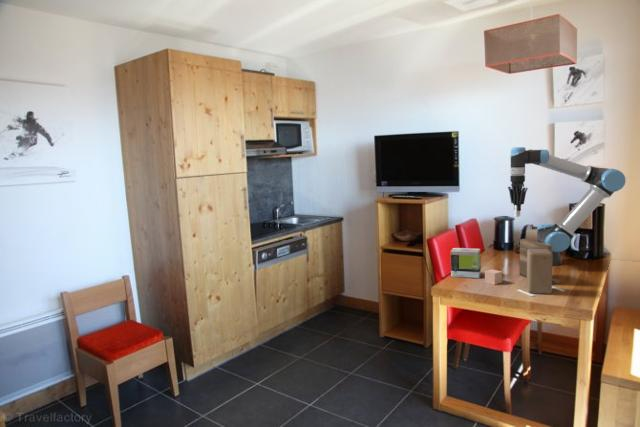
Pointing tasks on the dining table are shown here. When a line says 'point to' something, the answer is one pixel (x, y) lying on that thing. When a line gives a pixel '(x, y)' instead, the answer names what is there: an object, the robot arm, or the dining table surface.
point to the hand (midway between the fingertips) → (517, 216)
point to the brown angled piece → (524, 247)
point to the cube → (493, 276)
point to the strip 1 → (525, 292)
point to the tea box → (465, 262)
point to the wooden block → (539, 271)
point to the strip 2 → (557, 288)
